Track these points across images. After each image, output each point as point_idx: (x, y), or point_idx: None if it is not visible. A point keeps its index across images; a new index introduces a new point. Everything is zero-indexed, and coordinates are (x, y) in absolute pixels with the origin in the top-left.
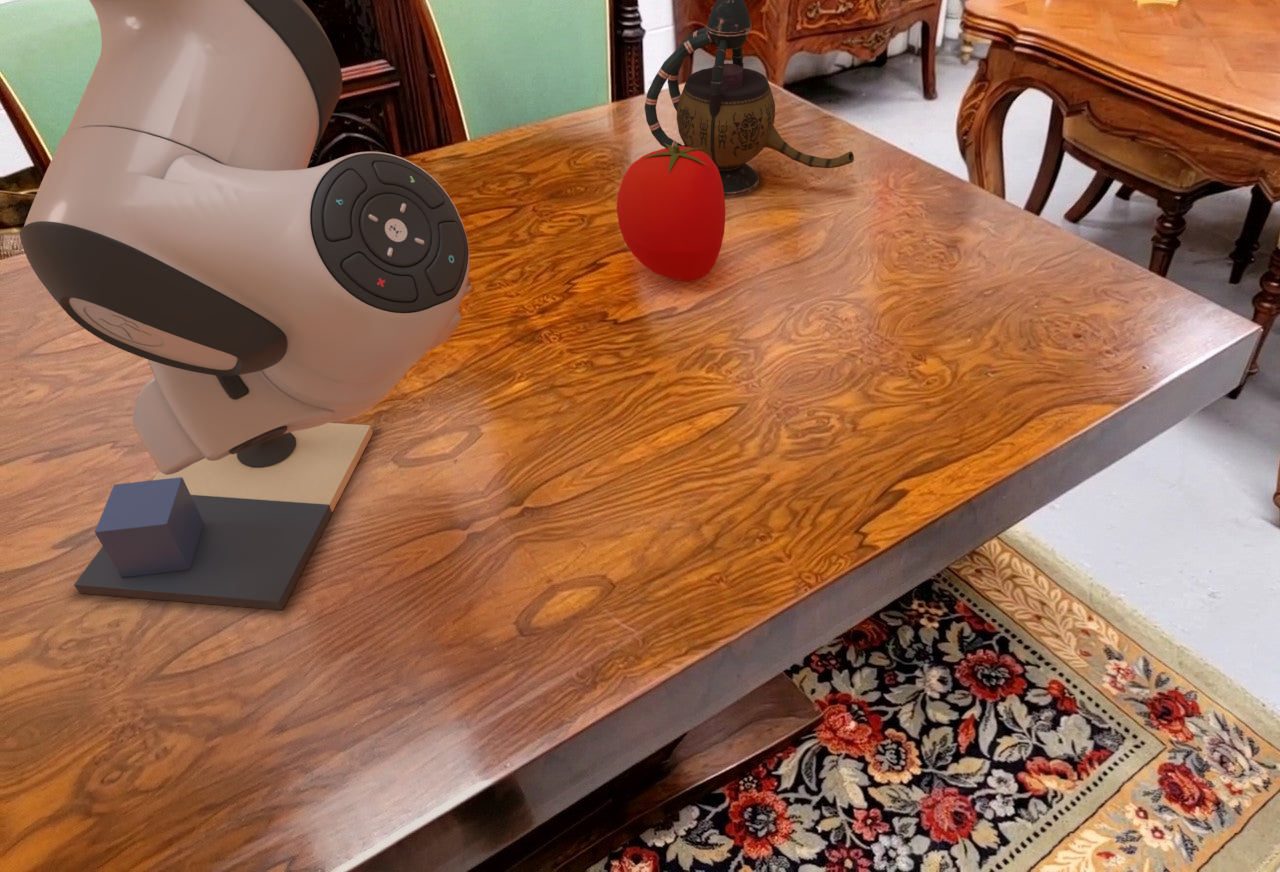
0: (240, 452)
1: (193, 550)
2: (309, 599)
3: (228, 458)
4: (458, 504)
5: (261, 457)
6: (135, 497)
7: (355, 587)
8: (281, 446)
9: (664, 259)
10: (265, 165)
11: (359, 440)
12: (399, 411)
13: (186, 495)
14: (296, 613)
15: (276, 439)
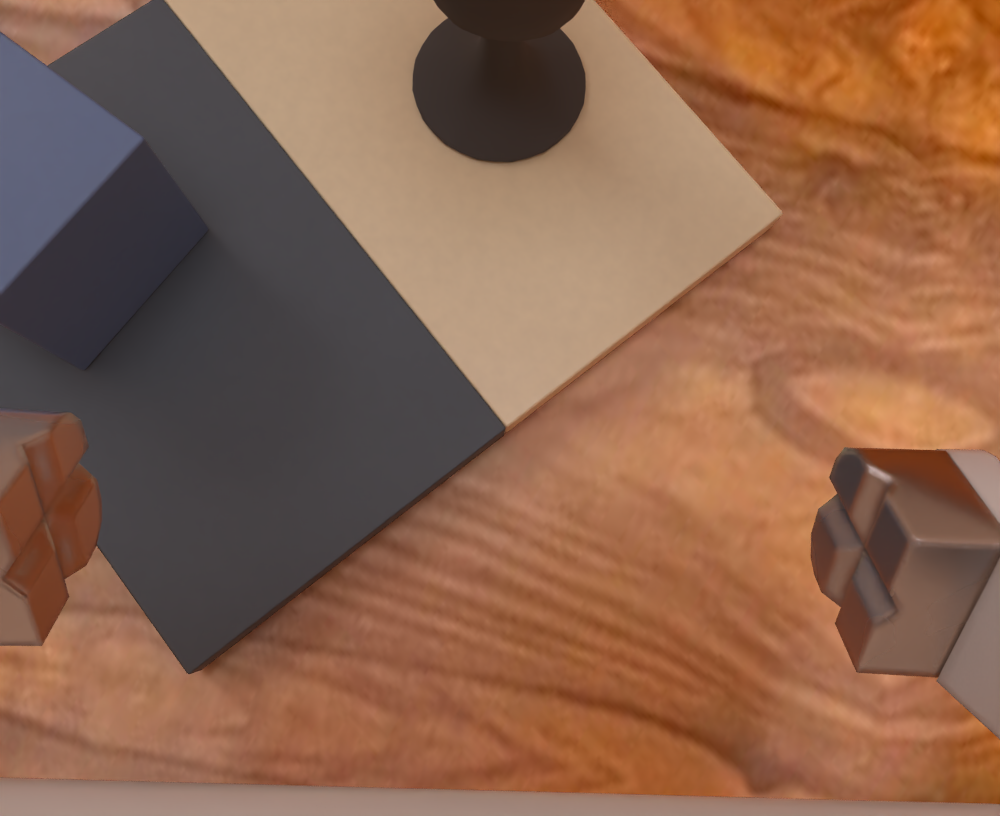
0: (431, 49)
1: (122, 319)
2: (275, 689)
3: (397, 41)
4: (799, 682)
5: (462, 115)
6: None
7: (391, 748)
8: (529, 116)
9: None
10: None
11: (721, 248)
12: (883, 198)
13: (145, 188)
14: (221, 709)
15: (530, 87)
